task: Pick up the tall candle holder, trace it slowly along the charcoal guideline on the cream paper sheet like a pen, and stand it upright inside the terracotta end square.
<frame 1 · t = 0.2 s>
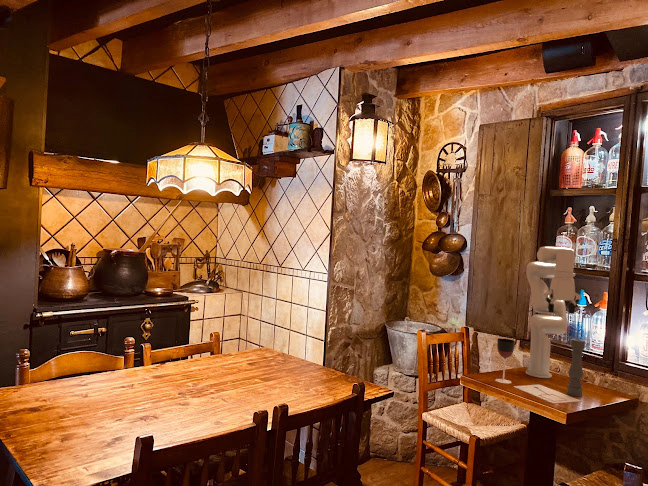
hand: (561, 312, 232), 37 cm above the table, tool pointing down, fingers open, 9 cm apart
wineglass: (503, 381, 249), on the table
candle holder: (574, 394, 234), on the table
paper sheet: (545, 393, 232), on the table
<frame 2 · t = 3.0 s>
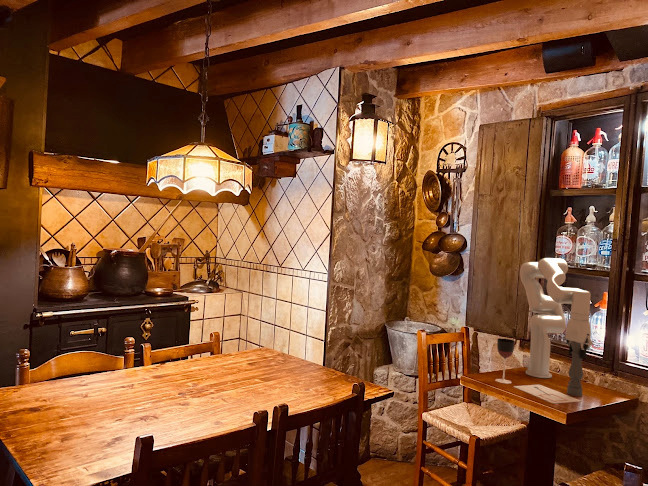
hand: (577, 356, 234), 17 cm above the table, tool pointing down, fingers closed on candle holder, 5 cm apart
candle holder: (574, 394, 234), on the table, touching gripper
everything else where it was.
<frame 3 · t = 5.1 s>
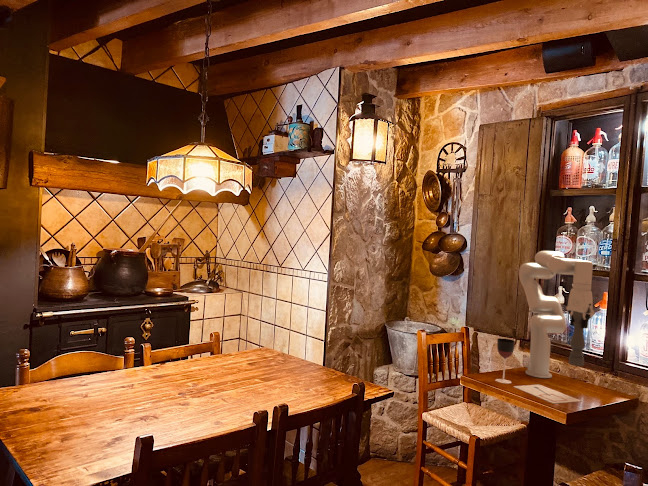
hand: (578, 326, 234), 31 cm above the table, tool pointing down, fingers closed on candle holder, 5 cm apart
candle holder: (576, 364, 234), point 13 cm above the table, touching gripper
everything else where it was.
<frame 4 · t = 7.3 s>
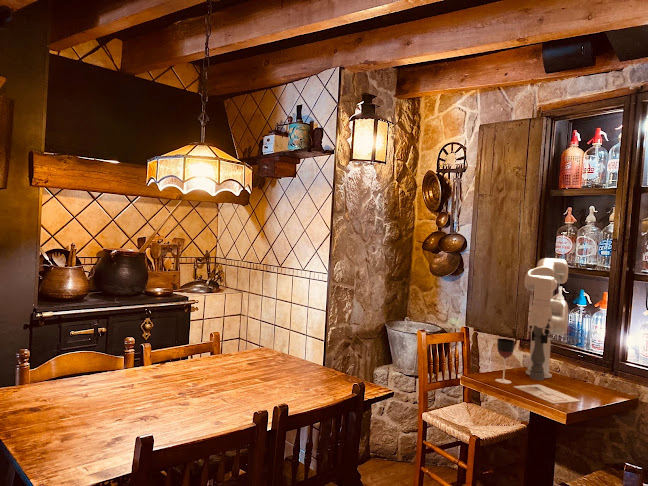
hand: (539, 341, 239), 22 cm above the table, tool pointing down, fingers closed on candle holder, 5 cm apart
candle holder: (536, 379, 239), point 4 cm above the table, touching gripper
everything else where it was.
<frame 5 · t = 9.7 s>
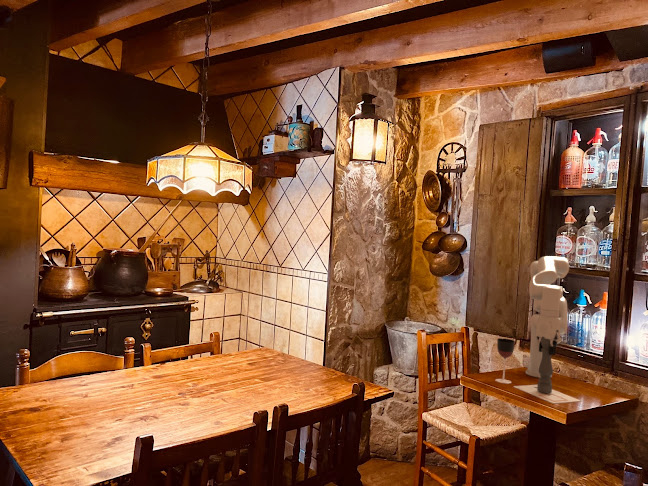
hand: (546, 352, 232), 18 cm above the table, tool pointing down, fingers closed on candle holder, 5 cm apart
candle holder: (544, 391, 232), point 1 cm above the table, touching gripper
everything else where it was.
when the fingers open (18 cm above the table, at t = 11.8 s): candle holder stays where it is, resting on paper sheet.
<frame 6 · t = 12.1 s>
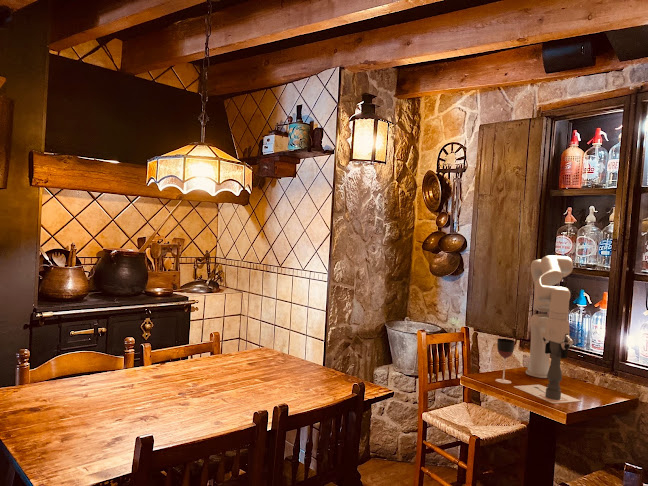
hand: (555, 355, 225), 19 cm above the table, tool pointing down, fingers open, 8 cm apart
candle holder: (552, 397, 225), resting on paper sheet
everything else where it was.
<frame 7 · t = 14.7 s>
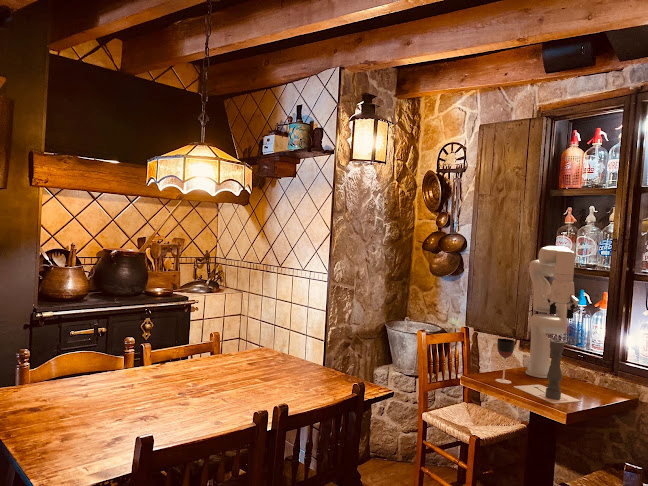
hand: (560, 316, 227), 36 cm above the table, tool pointing down, fingers open, 9 cm apart
nothing on the table moved.
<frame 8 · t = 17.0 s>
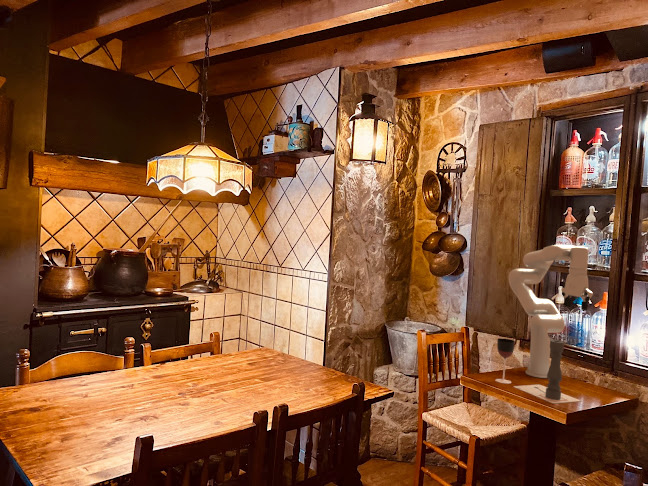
hand: (575, 308, 243), 38 cm above the table, tool pointing down, fingers open, 9 cm apart
nothing on the table moved.
at the end: candle holder inside the target area on the paper sheet (0.1 cm from its centre), point 0.1 cm above the paper sheet's base; candle holder tilted 1°; the gripper is holding nothing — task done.
